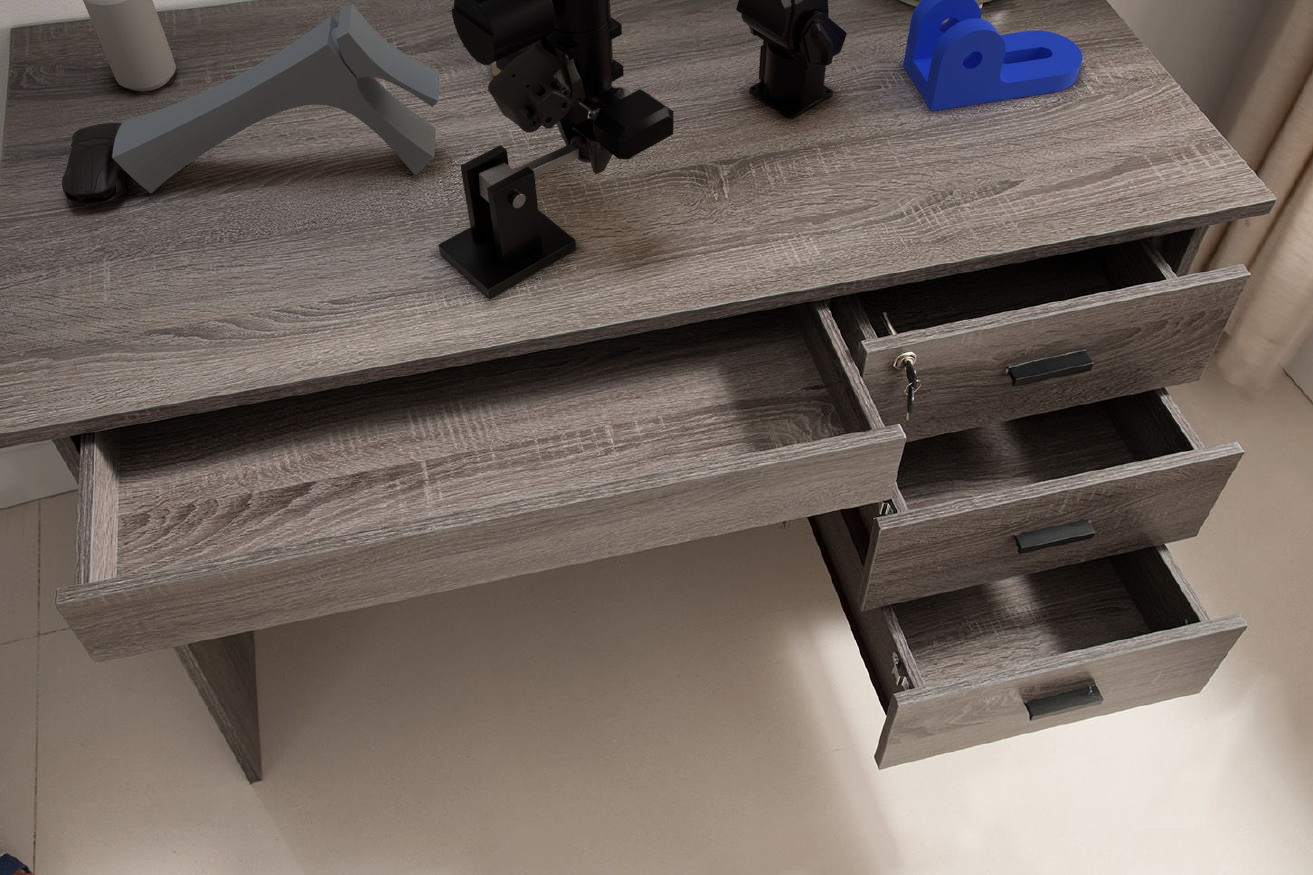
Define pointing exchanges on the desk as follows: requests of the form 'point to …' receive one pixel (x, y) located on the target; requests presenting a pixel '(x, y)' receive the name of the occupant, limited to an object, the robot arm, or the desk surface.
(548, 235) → the lever switch
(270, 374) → the desk surface
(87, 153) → the black computer mouse
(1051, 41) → the bracket
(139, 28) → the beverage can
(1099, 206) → the desk surface
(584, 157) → the lever handle
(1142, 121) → the desk surface
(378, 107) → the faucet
